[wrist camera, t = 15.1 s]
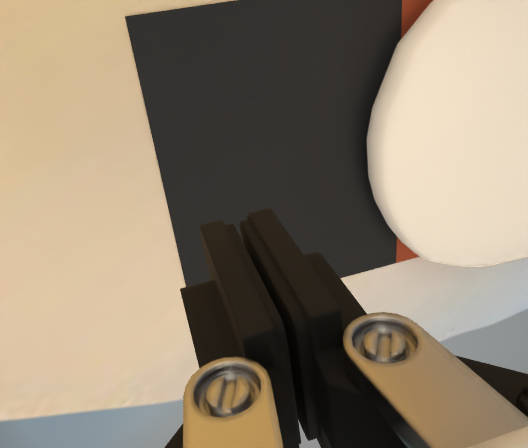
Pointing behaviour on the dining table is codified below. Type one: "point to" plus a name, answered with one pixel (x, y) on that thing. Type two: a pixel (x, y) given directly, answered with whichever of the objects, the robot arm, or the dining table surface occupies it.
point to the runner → (272, 120)
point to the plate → (456, 134)
